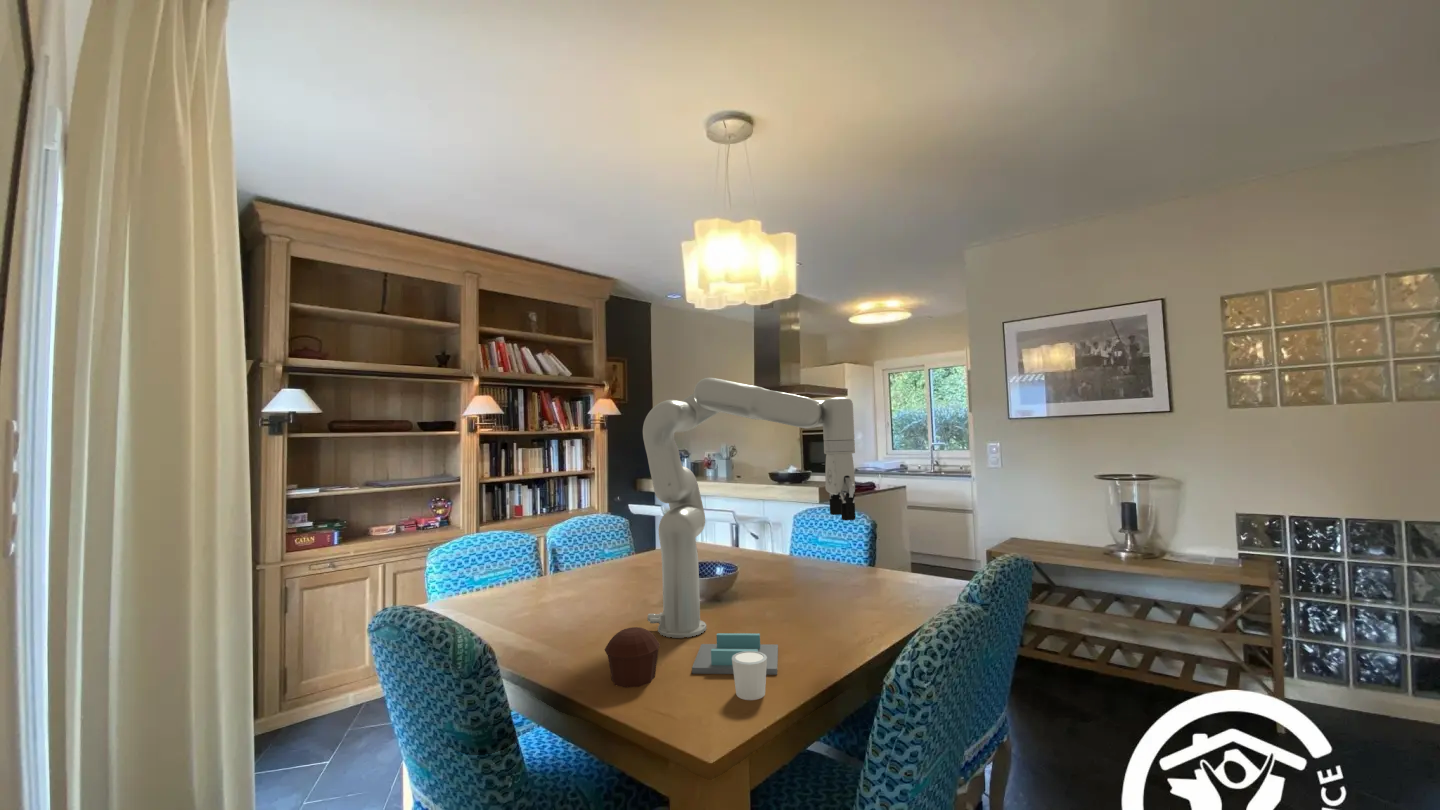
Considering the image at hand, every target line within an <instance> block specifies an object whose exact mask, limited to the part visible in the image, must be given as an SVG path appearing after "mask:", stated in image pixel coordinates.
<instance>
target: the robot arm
mask: <svg viewBox="0 0 1440 810" xmlns="http://www.w3.org/2000/svg"><path fill="white" fill-rule="evenodd" d="M650 409H651V410H649V412H648V413H647V415H646V416H645V419H644V421H643V426H642V439H643V443H644V449H645V453H646V456H647V463H648V467H649V472H650V476H651V482H652V486H653V487H652V488H653V491H654V493H655V496H656V498H657V499H658V500H659V501H660V502H662V503H664V504H668V506H669V510H668V511H666V512H665V514H663V516H662V517H661V519H660V520H659V521H660V522H659V525H658V539H659V545H660V553H661V573H662V612H659V613H648V614H647V621H648V622H649V623H650V624H658V626H657V633H658V632H659V633H660V634H659V633H658V634H659V635H660V636H662V635H663V636H662V637H665V636H666V638H670V637H672V638H671V639H673V638H674V639H685V638H684V637H687V638H691V637H692V636H693V637H696V635H697V636H699V635H702V634H703V633H705V632H706V630H707V623H706V622H705V621H703V620H701V606H700V605H701V604H700V603H701V602H700V601H701V600H700V598H701V597H700V575H699V574H700V573H699V572H700V570H699V569H700V567H699V554H698V547H697V539H696V538H697V537H699V535H700V534H702V532H703V530H704V529H705V526H706V515H705V510H704V505H703V504H704V503H703V501H702V496H701V493H700V488H699V485H698V484H699V483H698V480H697V477H696V475H695V474H694V473H693V471H692V470H691V469H690V468H688V467H686V466H683V463H682V460H681V456H680V450H679V447H678V445H677V442H676V440H675V433H685V432H688V431H690V430H694V429H695V428H696V427H698V426H699V425H701V424H703V423H705V422H706V421H707V420H709V419H710V418H712V417H714V416H716V415H717V414H719V413H722V414H728V415H732V416H737V417H740V418H746V419H750V420H758V421H759V420H762V421H768V422H773V423H778V424H782V425H787V426H792V427H795V428H799V429H813V428H819V427H822V428H823V429H822V430H823V431H822V432H823V433H822V434H823V453H824V455H825V472H824V473H825V486H824V487H825V491H826V492H827V493H829V494H828V498H829V499H828V500H829V514H830V515H831V516H838V515H840V516H841V520H842V521H855V520H856V504H855V503H856V500H855V496H856V495H855V491H856V480H855V478H856V477H855V468H854V466H855V465H854V458H853V454H856V445H855V444H856V442H855V423H854V422H855V420H854V419H855V418H854V403H853V400H852V399H851V398H849V397H832V398H826V399H824V400H819V399H812V398H811V397H807V396H802V395H797V394H793V393H787V392H783V391H777V390H772V389H771V390H770V389H767V388H764V387H762V386H757V385H752V384H751V385H750V384H746V383H741V382H737V381H736V382H735V381H731V380H726V379H721V378H715V377H705V378H702V379H700V380H699V381H697V383H696V384H695V386H694V390H693V393H692V394H690V395H689V396H687V397H685V398H684V399H682V400H676V399H667V400H663V401H661V402H659V403H657V404H656V405H655V406H654V407H652V408H650ZM704 631H705V632H704ZM701 633H702V634H701ZM693 637H692V638H693Z"/></svg>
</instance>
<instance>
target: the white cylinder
mask: <svg viewBox="0 0 1440 810" xmlns="http://www.w3.org/2000/svg"><path fill="white" fill-rule="evenodd" d="M732 664H733V672H734V674H733V680H734V686H735V687H734V688H735V694H736V697H738V698H739V699H742V700H745V701H756V700H759V699H762V698H764V697H765V695H766V685H767V684H766V682H767V674H766V666H767V656H766V655H765V654H763V653H761V652H756V651H744V652H739V653H736V654H735V655H733V657H732Z"/></svg>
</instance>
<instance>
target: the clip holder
mask: <svg viewBox="0 0 1440 810" xmlns="http://www.w3.org/2000/svg"><path fill="white" fill-rule="evenodd" d="M715 637H716V643H701V644H700V647H699V649H698V651H697V653H696V656H695V659H694V661H693V665H692V667H691V674H698V675H699V674H705V675H706V674H707V675H709V674H710V675H734V672H733V664H732V657H733V655H735V654H736V653H739V652H744V651H756V652H761V653H763V654H765V655H766V656H767V666H766V675H771V676H772V675H778V662H779V661H778V660H779V657H778V656H779V644H772V643H771V644H767V643H766V644H762V643H761V633H752V632H751V633H746V632H745V633H743V632H742V633H741V632H739V633H737V632H736V633H734V632H733V633H732V632H731V633H729V632H728V633H727V632H725V633H722V632H721V633H718V632H717V633H716V636H715Z"/></svg>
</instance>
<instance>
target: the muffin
mask: <svg viewBox="0 0 1440 810" xmlns="http://www.w3.org/2000/svg"><path fill="white" fill-rule="evenodd" d="M660 646H661V644H660V642H659V641H658V639H657V638H656V637H655V635H654V634H653V632H652V631H650V630H648V629H645V628H644V627H640V626H639V627H638V626H632V627H628V628H627V627H626V628H624V629H621V630H620V631H619V632H617V633H615V634H614V635H613V636H612V637H611V639H610V640H609V642H608V643H607V644H606V647H605V648H604V652H605V654H606V656H607V660H608V665H609V671H610V678H611V681H612V682H613V684H614V686H616V685H617V687H622V688H625V689H629V688H639V687H643V686H645V685H647V684H651V682H652V681H653V680H654V678H655V677H656V671H657V670H656V669H657V663H658V655H659V649H660Z"/></svg>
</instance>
